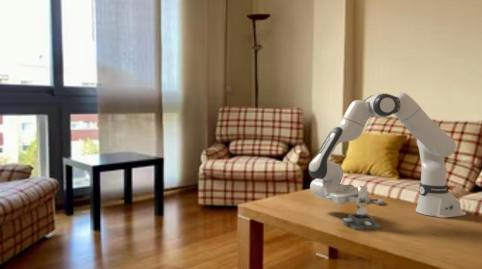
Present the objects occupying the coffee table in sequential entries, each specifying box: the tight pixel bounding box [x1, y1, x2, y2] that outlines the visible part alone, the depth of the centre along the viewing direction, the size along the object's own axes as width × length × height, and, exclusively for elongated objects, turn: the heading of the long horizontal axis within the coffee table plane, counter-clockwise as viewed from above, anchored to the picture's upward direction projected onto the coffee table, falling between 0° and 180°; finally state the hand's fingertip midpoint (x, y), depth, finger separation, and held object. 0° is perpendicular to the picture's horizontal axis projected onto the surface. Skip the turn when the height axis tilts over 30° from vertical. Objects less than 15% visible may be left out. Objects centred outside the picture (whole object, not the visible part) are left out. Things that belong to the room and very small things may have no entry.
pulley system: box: [367, 196, 385, 206], centre depth 224 cm, size 27×5×15 cm
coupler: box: [356, 185, 368, 219], centre depth 180 cm, size 4×4×14 cm
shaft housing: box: [341, 213, 382, 231], centre depth 180 cm, size 14×14×4 cm
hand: (363, 200), depth 179 cm, fingers closed on coupler, 4 cm apart
